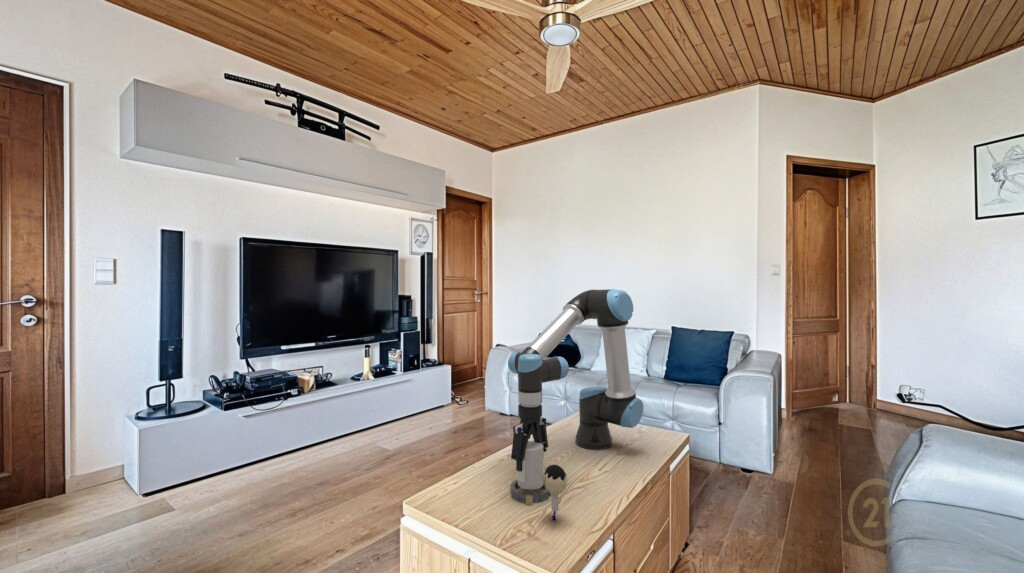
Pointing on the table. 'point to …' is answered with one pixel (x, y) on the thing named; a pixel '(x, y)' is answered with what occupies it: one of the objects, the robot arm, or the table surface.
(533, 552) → the table surface
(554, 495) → the toy
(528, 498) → the collar
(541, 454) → the grey cylinder
